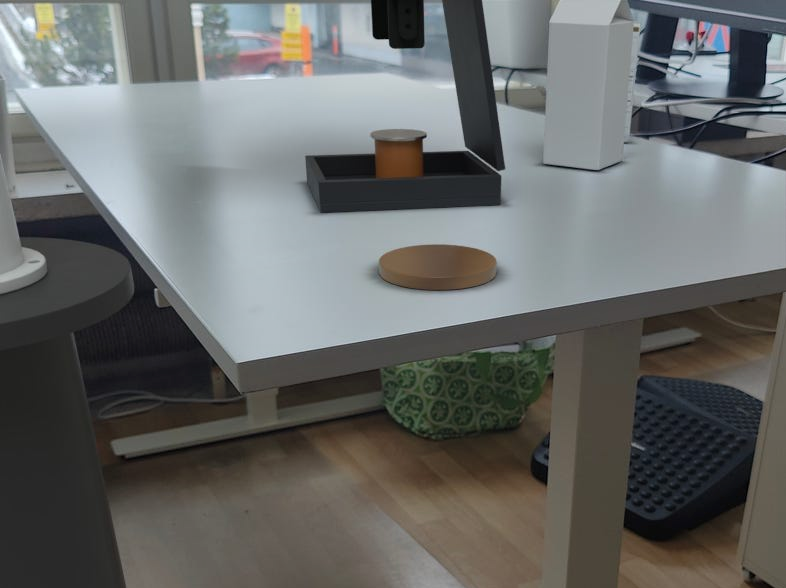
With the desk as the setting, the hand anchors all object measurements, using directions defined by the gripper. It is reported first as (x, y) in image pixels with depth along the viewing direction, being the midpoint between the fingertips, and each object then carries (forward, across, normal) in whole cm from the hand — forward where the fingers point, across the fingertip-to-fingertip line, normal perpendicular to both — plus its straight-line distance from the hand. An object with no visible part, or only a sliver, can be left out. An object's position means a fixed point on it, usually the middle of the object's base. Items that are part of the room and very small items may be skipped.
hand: (397, 43), depth 91 cm
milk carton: (+14, -12, +24) cm, 30 cm away
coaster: (+14, +28, -2) cm, 32 cm away
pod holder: (+14, 0, 0) cm, 14 cm away
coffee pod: (+13, 0, 0) cm, 13 cm away
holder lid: (+2, 0, +7) cm, 7 cm away
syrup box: (+14, -26, +32) cm, 44 cm away
